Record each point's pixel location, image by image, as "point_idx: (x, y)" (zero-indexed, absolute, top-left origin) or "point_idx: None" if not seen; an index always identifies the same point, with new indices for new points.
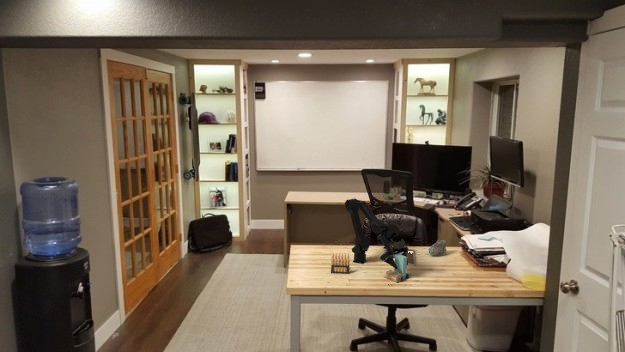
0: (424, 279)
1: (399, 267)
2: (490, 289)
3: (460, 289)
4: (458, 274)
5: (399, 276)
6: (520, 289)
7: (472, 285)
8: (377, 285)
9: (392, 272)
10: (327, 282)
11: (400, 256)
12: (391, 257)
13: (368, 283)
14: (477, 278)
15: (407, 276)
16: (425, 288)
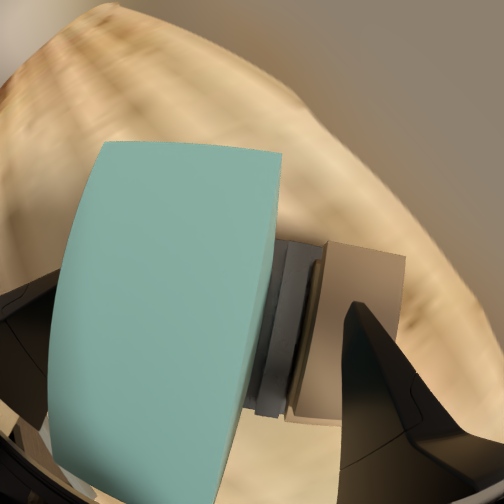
0: None
1: (260, 319)
2: (132, 11)
3: (179, 28)
4: (37, 108)
5: (369, 252)
6: (106, 3)
7: (120, 34)
8: (463, 364)
9: None
10: None
11: (189, 340)
12: (500, 450)
13: (462, 419)
14: (59, 63)
15: None
16: (280, 97)
